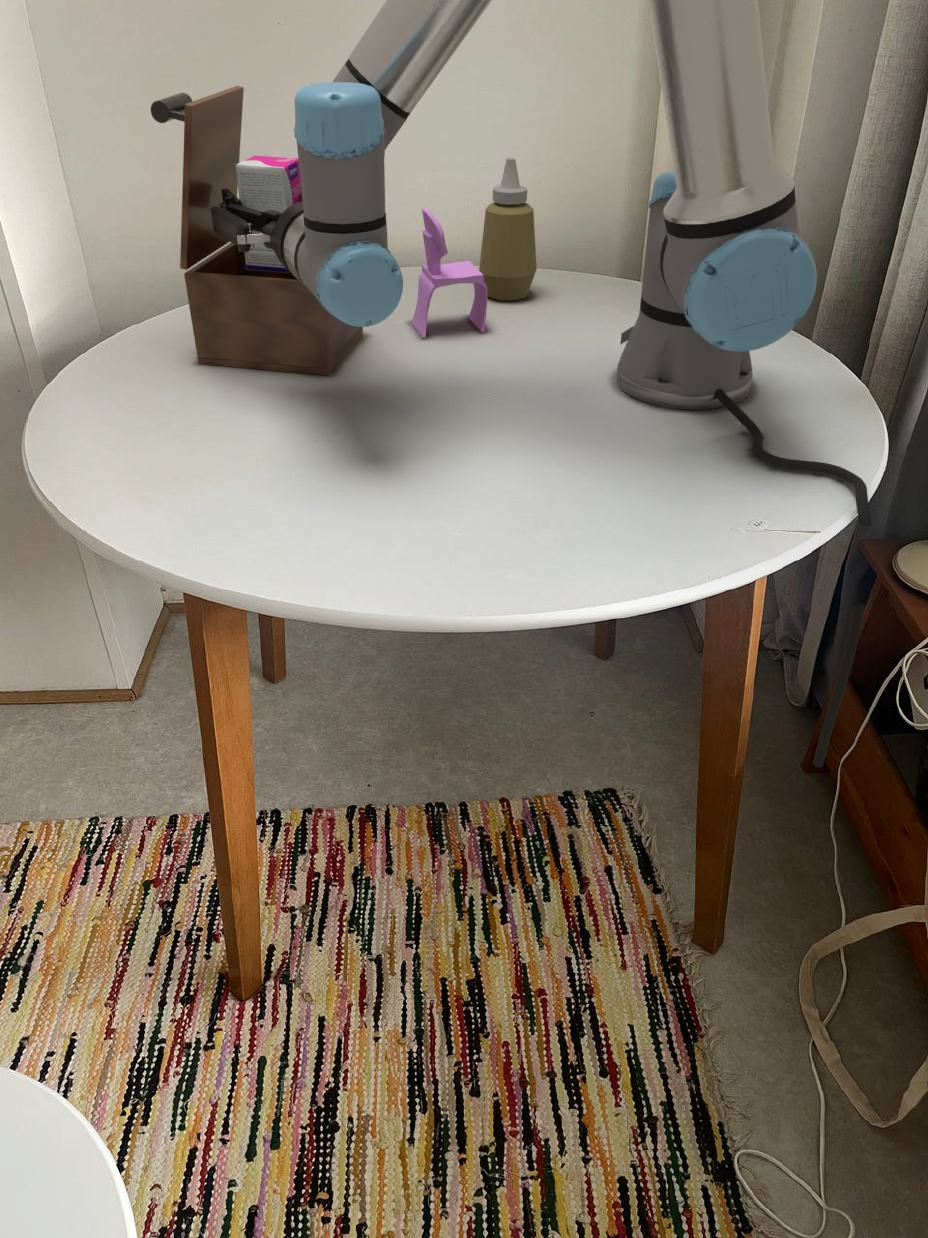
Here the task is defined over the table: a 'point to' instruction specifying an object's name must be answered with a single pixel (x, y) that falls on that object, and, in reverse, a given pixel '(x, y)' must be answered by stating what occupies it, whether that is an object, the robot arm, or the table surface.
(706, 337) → the robot arm
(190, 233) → the lid
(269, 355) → the chest
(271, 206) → the supplement box
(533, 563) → the table surface
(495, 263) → the squeeze bottle
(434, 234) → the toy chair
